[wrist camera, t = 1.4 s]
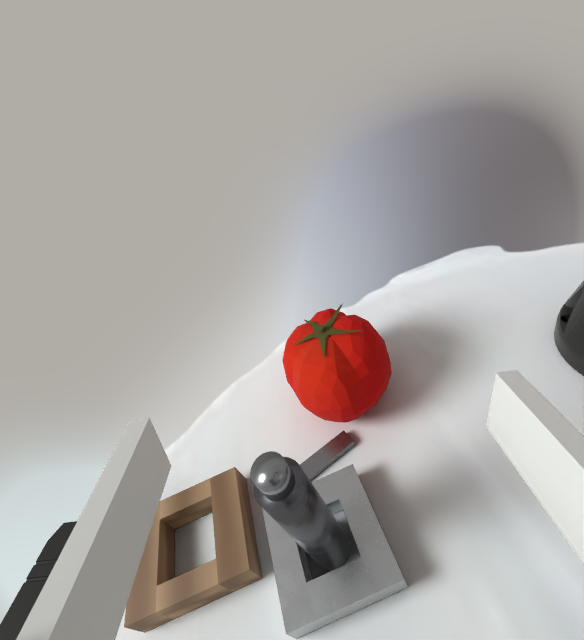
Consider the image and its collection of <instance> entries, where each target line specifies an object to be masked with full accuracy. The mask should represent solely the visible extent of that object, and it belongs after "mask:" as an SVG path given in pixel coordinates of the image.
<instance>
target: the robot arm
mask: <svg viewBox="0 0 584 640" xmlns="http://www.w3.org/2000/svg"><path fill="white" fill-rule="evenodd" d="M554 338H555V343H556V346H557V348H558V350H559V352H560V354H561V355H562V356H563V358H564V359H565V360H566V361H567V362H568V363H569V364H570V365H571V366H572V367H573V368H574V369H575V370H577V371H578V372H579V373H580V374H582V375H583V376H584V281H583V282H582V283H581V285H580V286H579V287H578V288H577V289H576V291H575V292H574V293H573V294H572V296H571V297H570V298H569V299H568V300H567V302H566V303H565V304H564V305H563V307H562V308H561V310H560V312H559V314H558V317H557V322H556V327H555V332H554ZM486 427H487V429H488V430H489V432H490V433H491V434H492V436H493V437H494V439H495V440H496V441H497V443H498V444H499V446H500V447H501V449H502V450H503V451H504V453H505V454H506V456H507V457H508V458H509V460H510V461H511V463H512V464H513V465H514V467H515V468H516V470H517V471H518V472H519V474H520V475H521V477H522V478H523V479H524V481H525V482H526V484H527V485H528V487H529V488H530V489H531V491H532V492H533V494H534V495H535V496H536V498H537V499H538V501H539V502H540V503H541V505H542V506H543V508H544V509H545V510H546V512H547V513H548V515H549V516H550V517H551V519H552V520H553V522H554V523H555V525H556V526H557V527H558V529H559V530H560V532H561V533H562V534H563V536H564V537H565V539H566V540H567V541H568V543H569V544H570V546H571V547H572V548H573V550H574V551H575V553H576V554H577V555H578V557H579V558H580V560H581V561H582V563H583V564H584V436H583V435H582V434H581V433H580V432H579V431H578V430H577V429H576V428H575V427H574V426H573V425H572V424H571V423H570V422H569V421H568V420H567V419H566V418H565V417H564V416H563V415H562V414H561V413H560V412H559V411H558V410H557V409H556V408H555V407H554V406H553V405H552V404H551V403H550V402H549V401H548V400H547V399H546V398H545V397H544V396H543V395H542V394H541V393H540V392H538V391H537V390H536V389H535V388H534V387H533V386H532V385H531V384H530V383H529V382H528V381H527V380H526V379H525V378H524V377H523V376H522V375H521V374H520V373H519V372H518V371H517V370H516V371H508V372H500V373H496V376H495V382H494V387H493V392H492V398H491V403H490V408H489V414H488V419H487V425H486ZM170 468H171V464H170V462H169V460H168V458H167V455H166V453H165V451H164V449H163V447H162V444H161V442H160V440H159V438H158V435H157V434H156V431H155V429H154V427H153V425H152V422H151V420H150V418H142V419H134V420H130V421H129V423H128V425H127V427H126V429H125V431H124V432H123V434H122V436H121V438H120V440H119V442H118V444H117V446H116V448H115V450H114V452H113V454H112V456H111V457H110V459H109V461H108V463H107V465H106V467H105V469H104V471H103V473H102V475H101V477H100V479H99V481H98V482H97V484H96V486H95V488H94V490H93V492H92V494H91V496H90V498H89V500H88V502H87V504H86V506H85V508H84V510H83V512H82V514H81V515H80V517H79V519H78V521H76V522H68V523H63V525H62V526H61V527H60V528H59V529H58V530H57V531H56V532H55V533H54V535H53V536H52V537H51V538H50V539H49V540H48V541H47V543H46V545H45V547H44V548H43V550H42V552H41V554H40V555H39V557H38V559H37V561H36V565H34V566H33V568H32V570H31V571H30V573H29V575H28V577H27V581H26V582H25V583H24V584H23V585H22V587H21V589H20V591H19V592H18V594H17V596H16V598H15V600H14V602H13V603H12V605H11V607H10V608H9V610H8V612H7V614H6V615H5V617H4V619H3V621H2V623H1V624H0V640H115V638H116V635H117V632H118V629H119V626H120V623H121V620H122V616H123V613H124V610H125V607H126V604H127V601H128V598H129V595H130V592H131V589H132V585H133V582H134V579H135V576H136V573H137V570H138V567H139V564H140V561H141V558H142V554H143V551H144V548H145V545H146V542H147V539H148V536H149V533H150V530H151V527H152V523H153V520H154V517H155V514H156V511H157V508H158V505H159V502H160V499H161V496H162V492H163V489H164V486H165V483H166V480H167V477H168V474H169V471H170Z"/></svg>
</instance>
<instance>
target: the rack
mask: <svg viewBox="0 0 584 640" xmlns="http://www.w3.org/2000/svg"><path fill="white" fill-rule="evenodd" d="M211 512H213V524H214V537H215V550H216V559H214V560H212V561H210V562H208V563H206V564H203V565H201V566H199V567H197V568H195V569H193V570H190V571H188V572H186V573H184V574H182V575H180V576H177V577H175V578H174V562H175V529H177V528H179V527H181V526H183V525H185V524H187V523H190V522H192V521H194V520H196V519H198V518H201V517H203V516H205V515H207V514H209V513H211ZM260 579H262V573H261V567H260V561H259V555H258V549H257V543H256V537H255V531H254V525H253V519H252V513H251V507H250V501H249V495H248V489H247V483H246V478H245V477H244V476H243V475H242V474H241V473H240V472H239V471H238V470H237V469H236V468H235V467H234V468H232V469H229V470H227V471H225V472H223V473H221V474H219V475H216V476H214V477H212V478H210V479H208V480H205V481H203V482H201V483H199V484H197V485H195V486H192V487H190V488H188V489H186V490H184V491H181V492H179V493H177V494H175V495H173V496H171V497H168V498H166V499H164V500H162V501H160V502H159V505H158V508H157V511H156V514H155V517H154V520H153V523H152V527H151V530H150V533H149V536H148V539H147V542H146V545H145V548H144V551H143V554H142V558H141V561H140V564H139V567H138V570H137V573H136V576H135V579H134V582H133V585H132V589H131V592H130V595H129V598H128V601H127V604H126V614H125V624H124V627H126V628H129V629H133V630H137V631H141V632H144V633H145V632H147V631H149V630H151V629H153V628H155V627H158V626H160V625H162V624H164V623H166V622H168V621H171V620H173V619H175V618H177V617H179V616H182V615H184V614H186V613H188V612H190V611H192V610H195V609H197V608H199V607H201V606H203V605H205V604H208V603H210V602H212V601H214V600H216V599H219V598H221V597H223V596H225V595H227V594H229V593H232V592H234V591H236V590H238V589H240V588H242V587H245V586H247V585H249V584H251V583H253V582H255V581H258V580H260Z"/></svg>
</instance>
